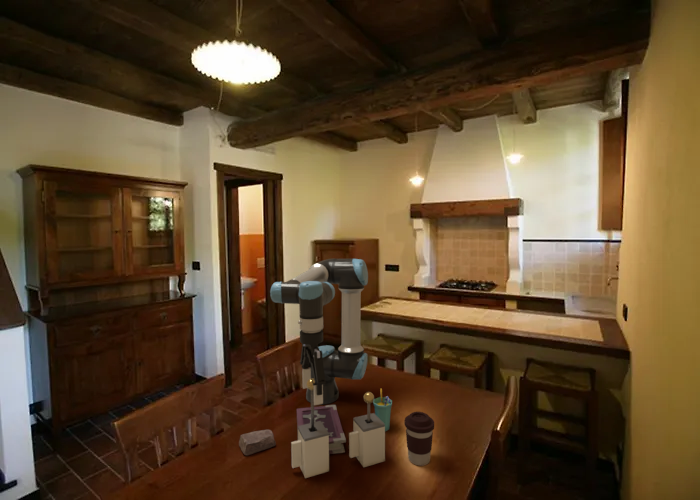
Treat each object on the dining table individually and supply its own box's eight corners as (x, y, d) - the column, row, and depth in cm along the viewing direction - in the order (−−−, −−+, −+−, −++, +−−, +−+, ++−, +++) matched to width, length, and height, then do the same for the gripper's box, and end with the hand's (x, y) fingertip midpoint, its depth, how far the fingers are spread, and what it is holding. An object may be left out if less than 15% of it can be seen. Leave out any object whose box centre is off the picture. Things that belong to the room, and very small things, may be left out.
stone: (269, 434, 136) (268, 422, 136) (277, 447, 129) (277, 434, 128) (237, 445, 130) (237, 432, 129) (244, 458, 122) (244, 445, 122)
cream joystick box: (289, 465, 118) (288, 428, 117) (320, 456, 122) (320, 420, 122) (295, 481, 111) (294, 441, 110) (328, 471, 115) (328, 432, 114)
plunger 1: (304, 439, 118) (303, 377, 117) (317, 436, 120) (316, 374, 118) (308, 447, 114) (307, 382, 112) (321, 444, 115) (321, 380, 114)
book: (345, 453, 125) (345, 439, 125) (299, 459, 122) (299, 445, 122) (335, 416, 150) (335, 404, 150) (296, 420, 147) (296, 408, 147)
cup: (399, 437, 133) (399, 398, 133) (380, 440, 131) (380, 401, 131) (386, 418, 147) (386, 382, 146) (368, 421, 145) (368, 385, 144)
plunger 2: (360, 450, 123) (359, 390, 122) (371, 447, 125) (371, 388, 124) (365, 458, 119) (365, 396, 118) (378, 454, 121) (377, 394, 120)
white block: (345, 455, 123) (345, 419, 122) (373, 447, 127) (373, 412, 127) (355, 470, 116) (354, 432, 115) (384, 460, 120) (384, 424, 119)
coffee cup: (428, 473, 114) (428, 427, 113) (399, 462, 119) (399, 419, 118) (438, 456, 122) (438, 413, 121) (411, 446, 128) (411, 406, 127)
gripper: (290, 322, 124) (291, 382, 125) (311, 342, 102) (312, 415, 103) (311, 319, 127) (312, 379, 128) (336, 338, 105) (336, 410, 106)
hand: (312, 395), depth 116 cm, fingers open, 12 cm apart
